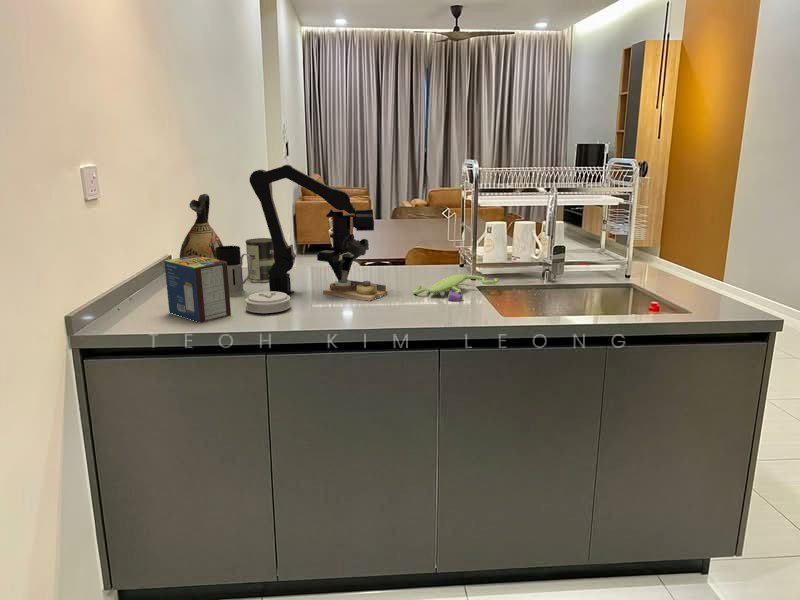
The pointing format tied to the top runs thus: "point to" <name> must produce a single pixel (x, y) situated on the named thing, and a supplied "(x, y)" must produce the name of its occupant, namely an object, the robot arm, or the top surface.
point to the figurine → (452, 286)
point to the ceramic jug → (200, 232)
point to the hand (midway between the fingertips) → (342, 279)
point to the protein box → (198, 288)
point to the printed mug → (260, 258)
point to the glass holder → (233, 268)
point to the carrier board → (357, 290)
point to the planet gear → (343, 280)
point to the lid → (268, 302)
